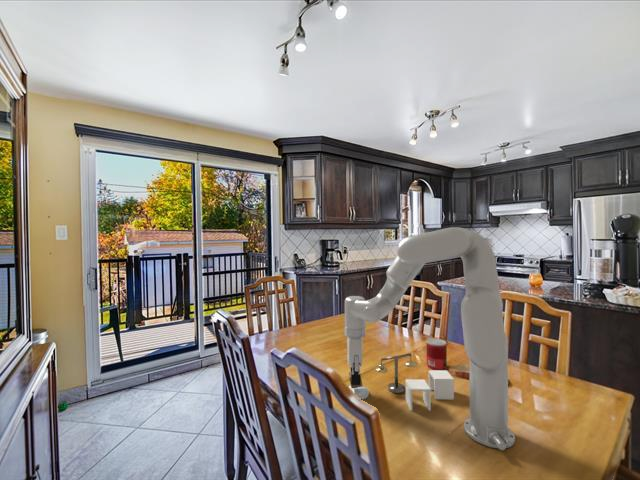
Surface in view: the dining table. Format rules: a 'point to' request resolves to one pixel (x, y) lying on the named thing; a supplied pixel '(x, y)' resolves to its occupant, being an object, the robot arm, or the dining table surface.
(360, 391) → the dish
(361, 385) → the block
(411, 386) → the cover
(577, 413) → the dining table surface
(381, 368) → the balance
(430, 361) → the canned food
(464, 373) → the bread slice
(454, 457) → the dining table surface
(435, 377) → the cover
